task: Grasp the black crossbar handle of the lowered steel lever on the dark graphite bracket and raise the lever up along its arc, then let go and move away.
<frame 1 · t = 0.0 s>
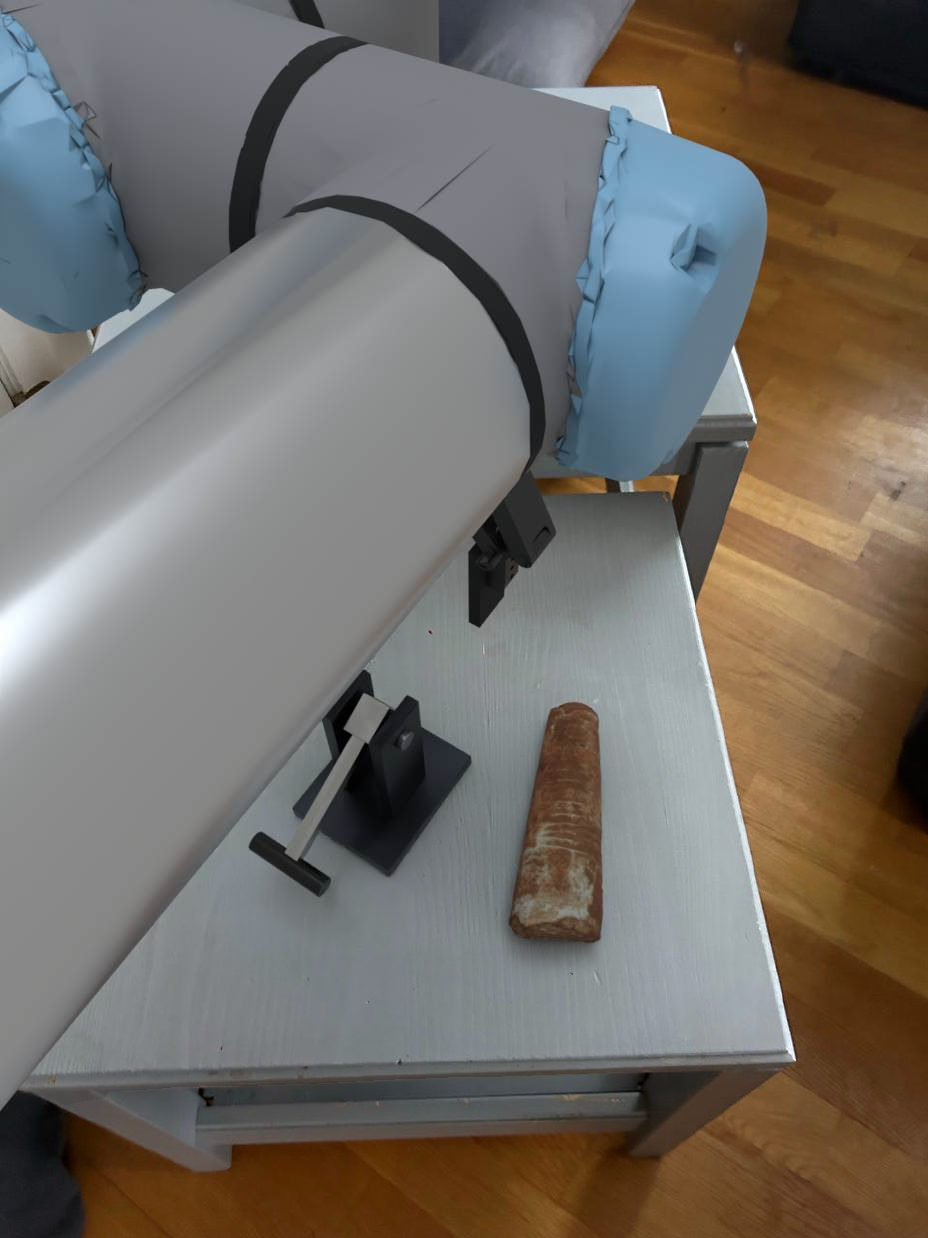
hand: (391, 559, 57), 23 cm above the table, tool pointing down, fingers open, 13 cm apart
bracket: (384, 788, 73), on the table
bread: (554, 827, 72), on the table
lever: (333, 787, 64), point 9 cm above the table, hinge at -25.0°
lemon: (289, 625, 82), on the table
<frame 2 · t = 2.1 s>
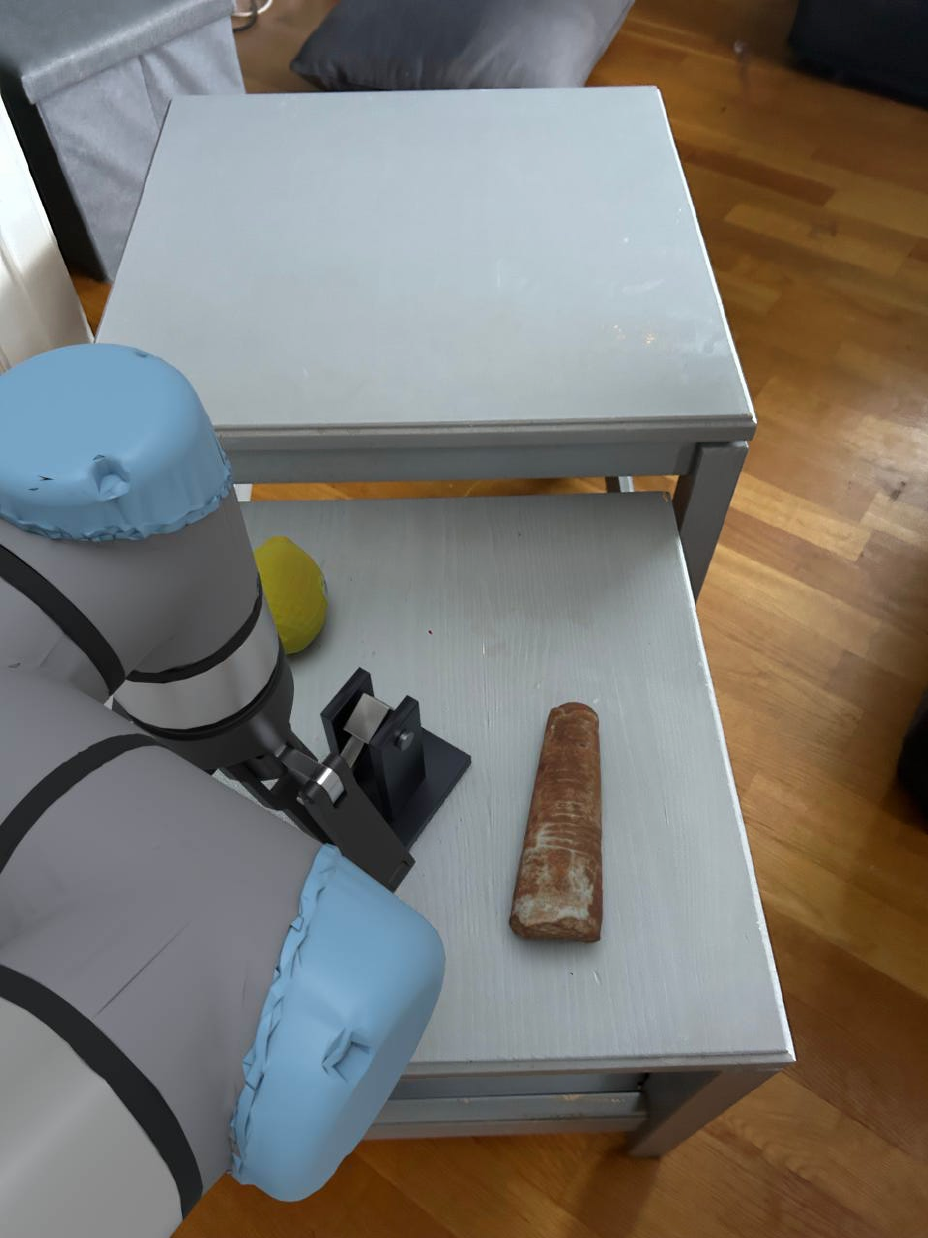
hand: (280, 836, 60), 11 cm above the table, tool pointing down, fingers open, 13 cm apart
nothing on the table moved.
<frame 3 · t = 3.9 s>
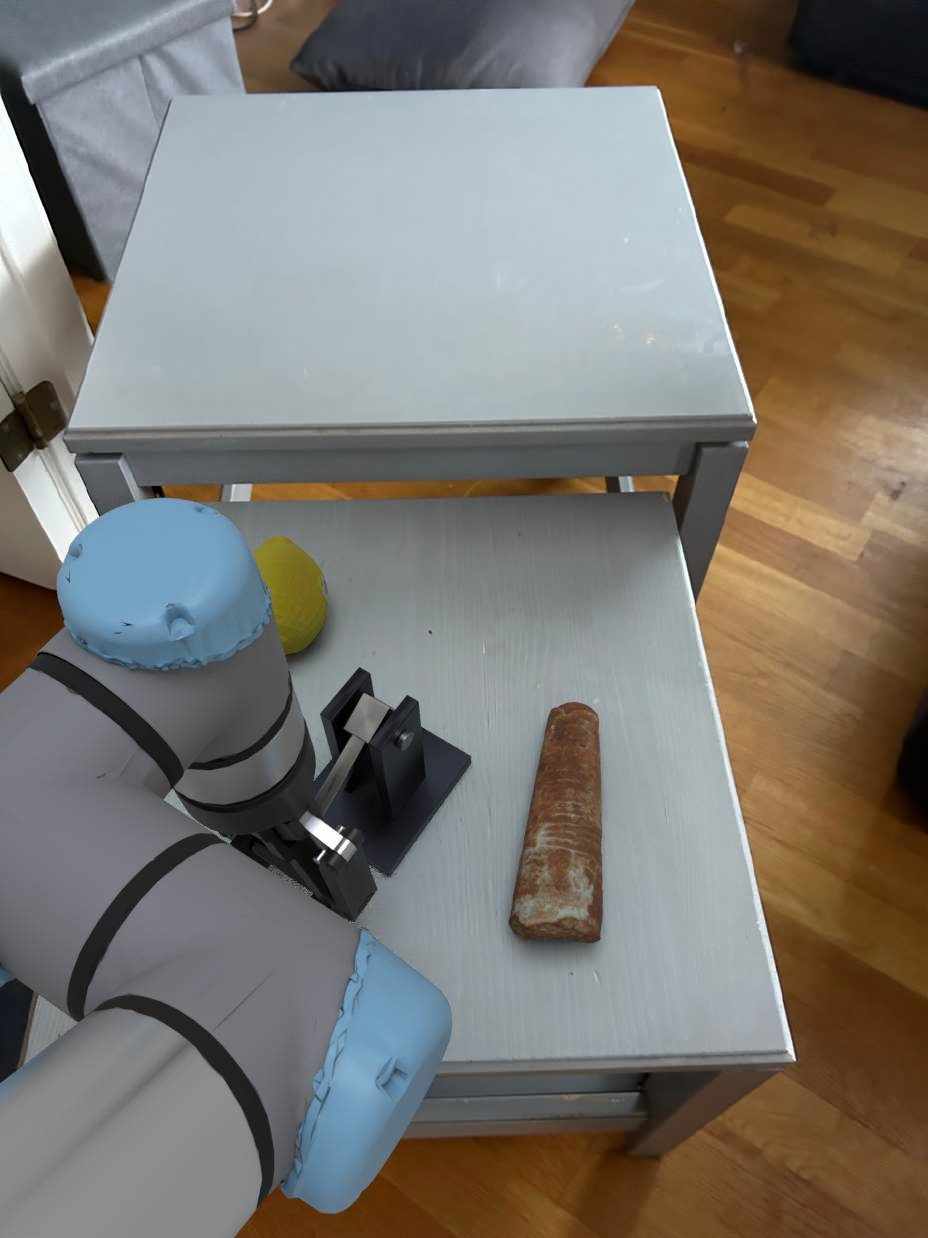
hand: (301, 889, 68), 1 cm above the table, tool pointing down, fingers closed on lever, 6 cm apart
lever: (333, 787, 64), point 9 cm above the table, hinge at -25.0°, touching gripper
everything else where it was.
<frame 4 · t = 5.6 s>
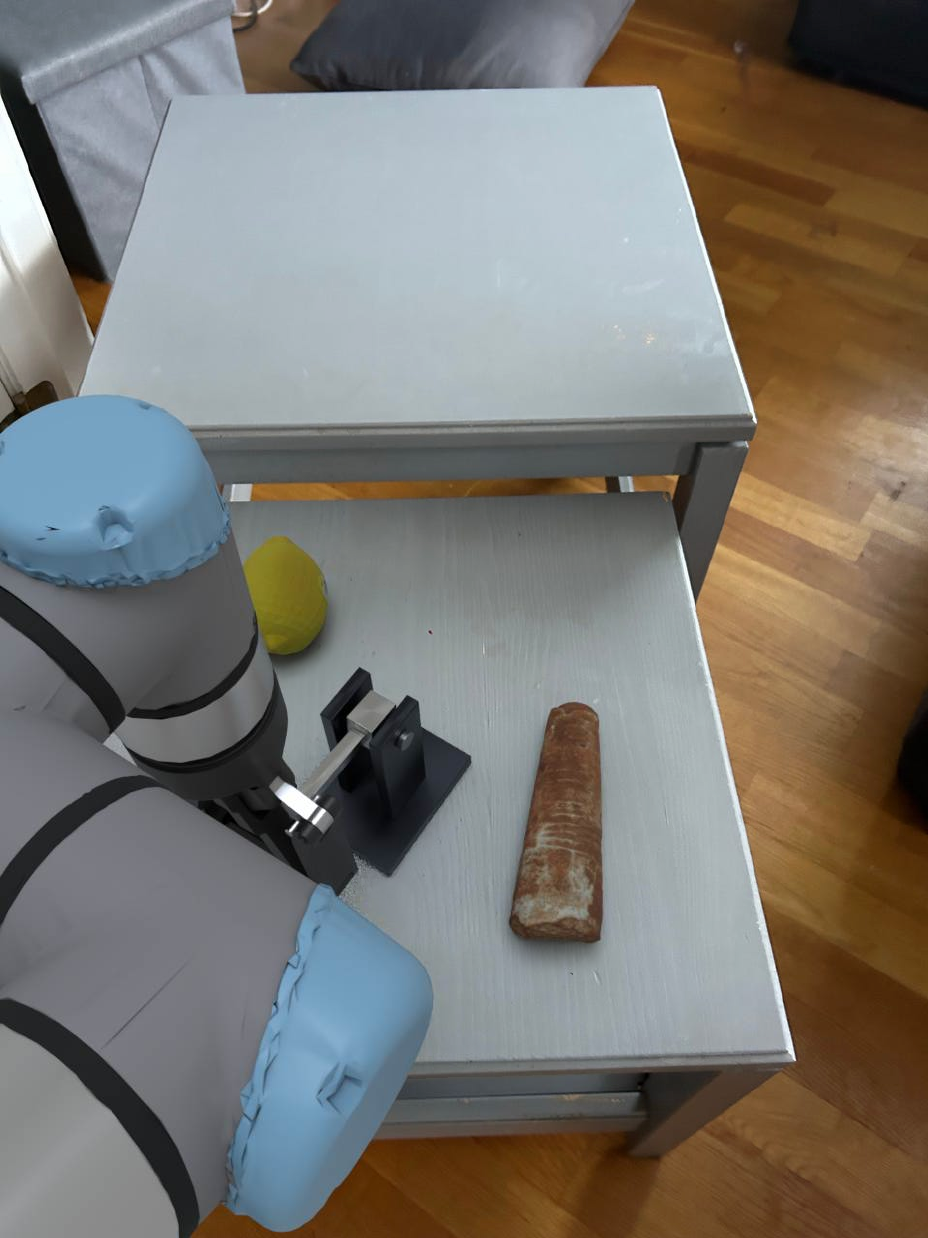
hand: (277, 872, 62), 7 cm above the table, tool pointing down, fingers closed on lever, 6 cm apart
lever: (324, 775, 61), point 11 cm above the table, hinge at 5.5°, touching gripper
everything else where it was.
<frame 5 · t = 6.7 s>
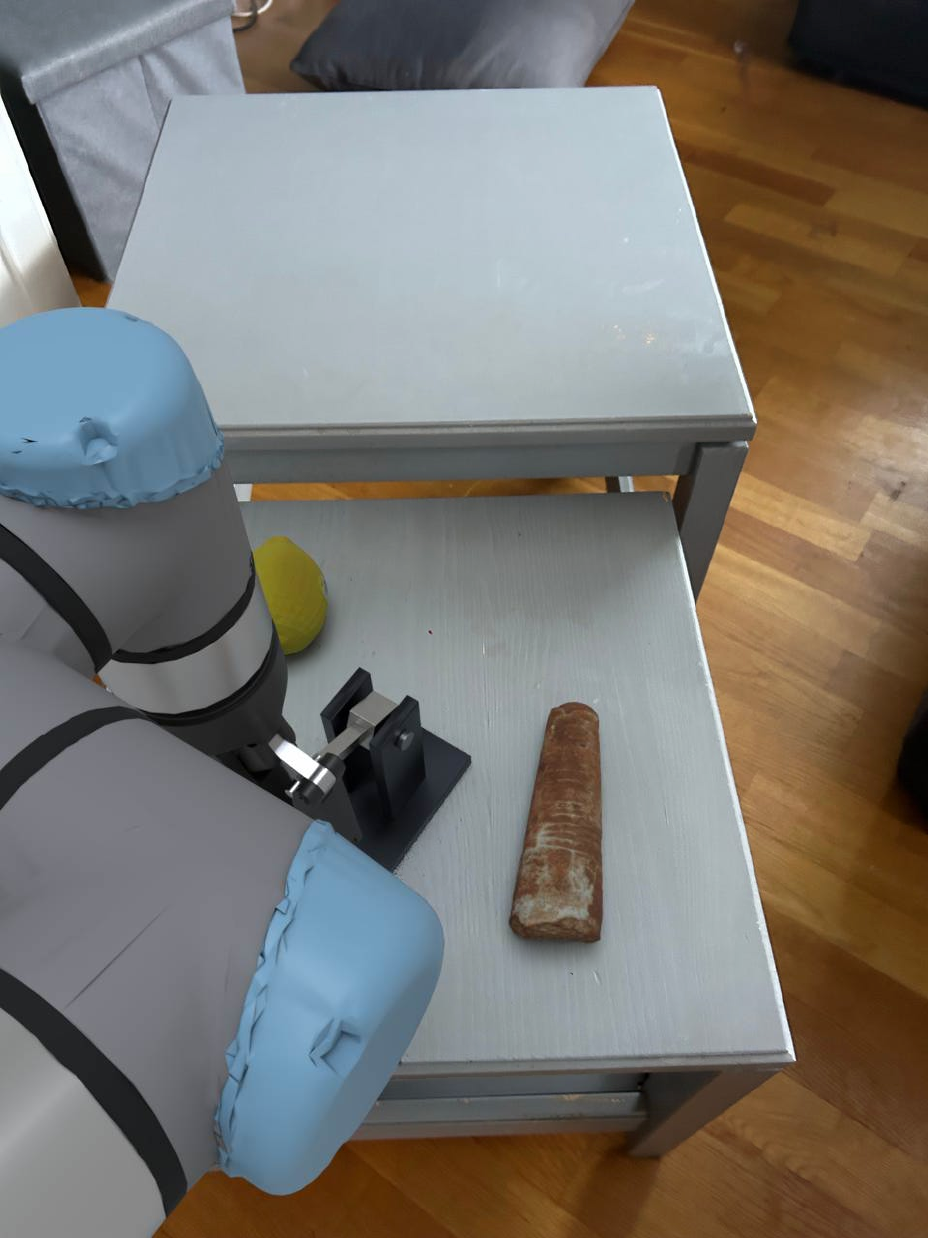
hand: (278, 843, 60), 10 cm above the table, tool pointing down, fingers closed on lever, 6 cm apart
lever: (324, 761, 60), point 13 cm above the table, hinge at 21.7°, touching gripper
everything else where it was.
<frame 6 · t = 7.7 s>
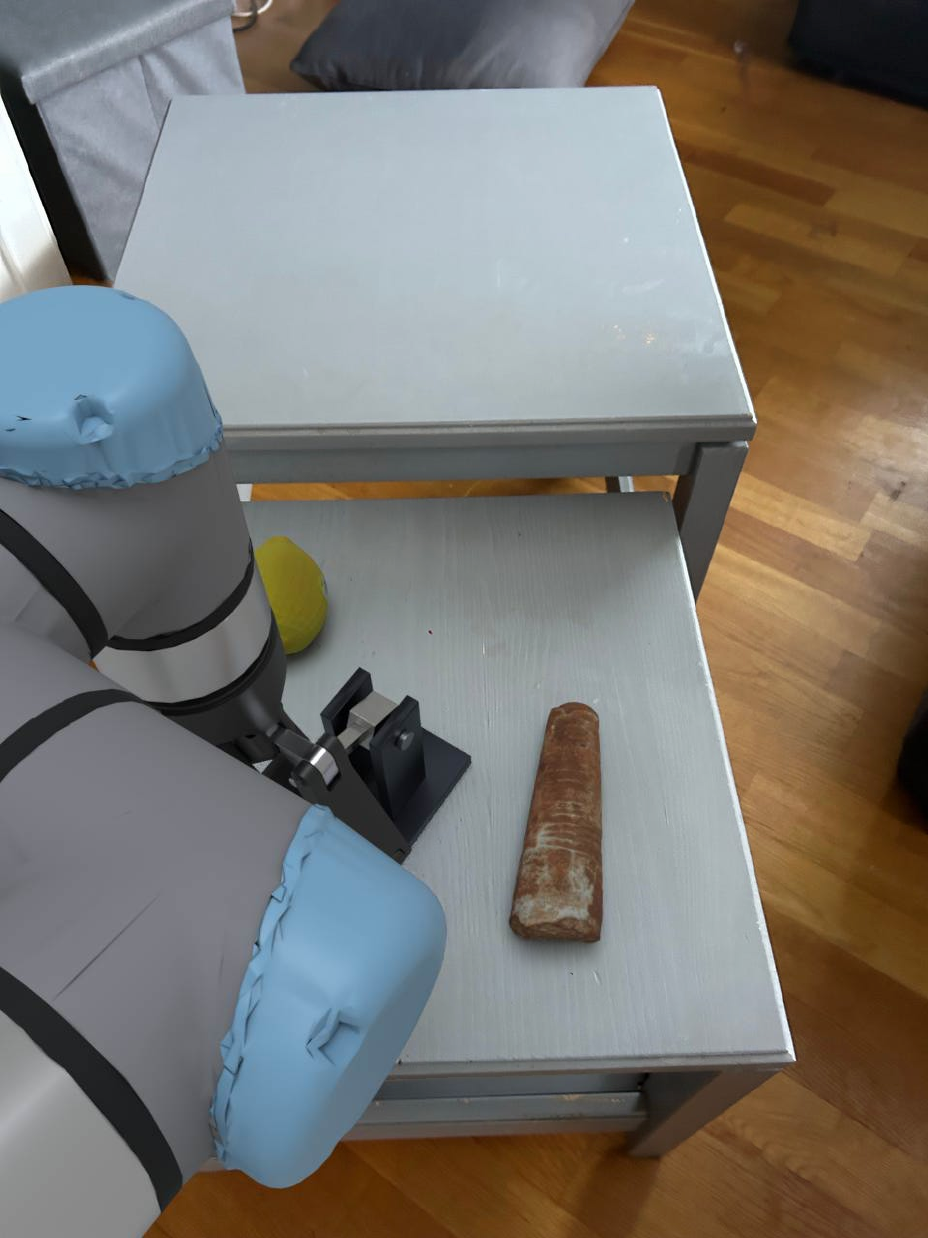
hand: (271, 826, 58), 13 cm above the table, tool pointing down, fingers open, 13 cm apart
lever: (324, 761, 60), point 13 cm above the table, hinge at 21.6°
everything else where it was.
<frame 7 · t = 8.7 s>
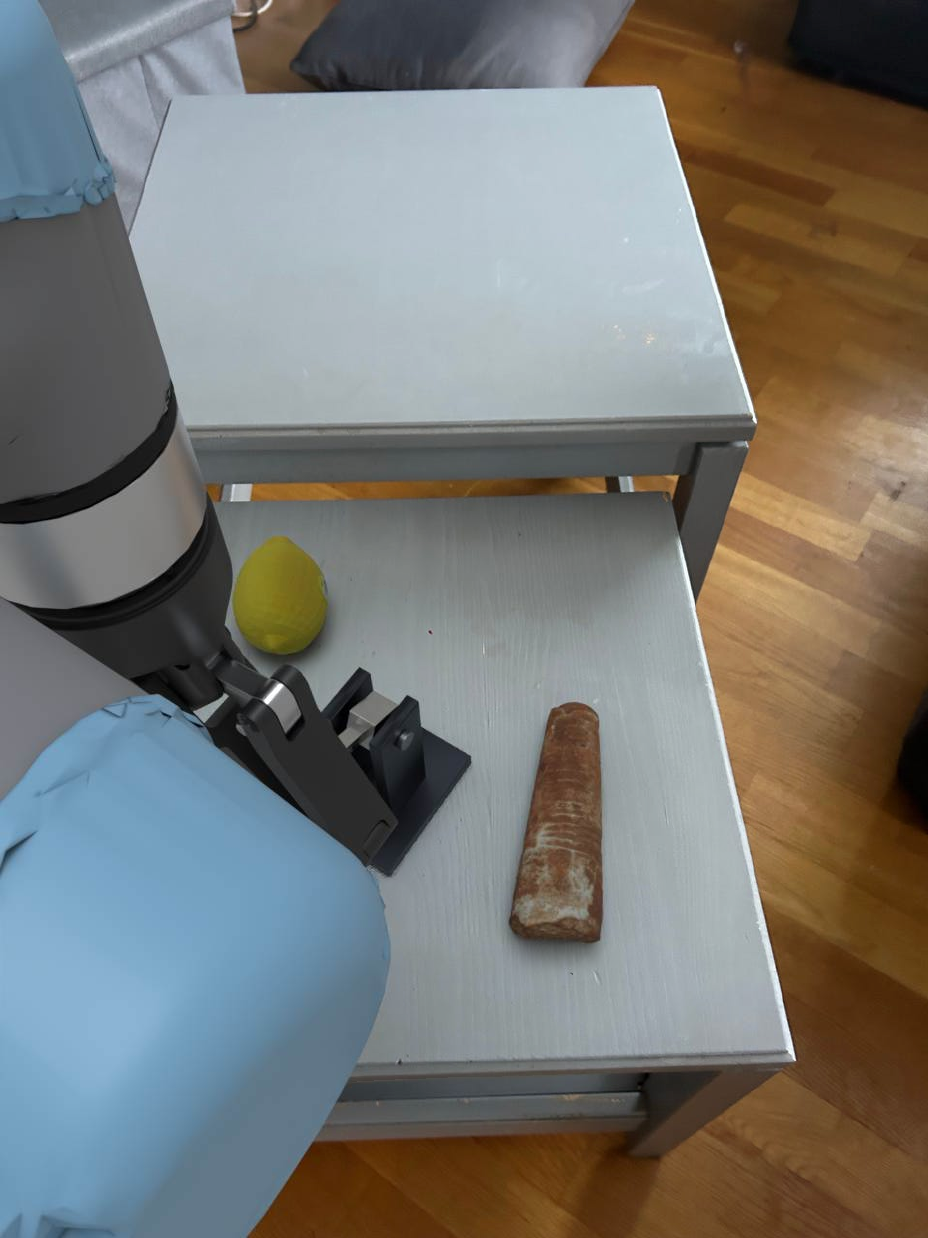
hand: (228, 801, 48), 23 cm above the table, tool pointing down, fingers open, 13 cm apart
nothing on the table moved.
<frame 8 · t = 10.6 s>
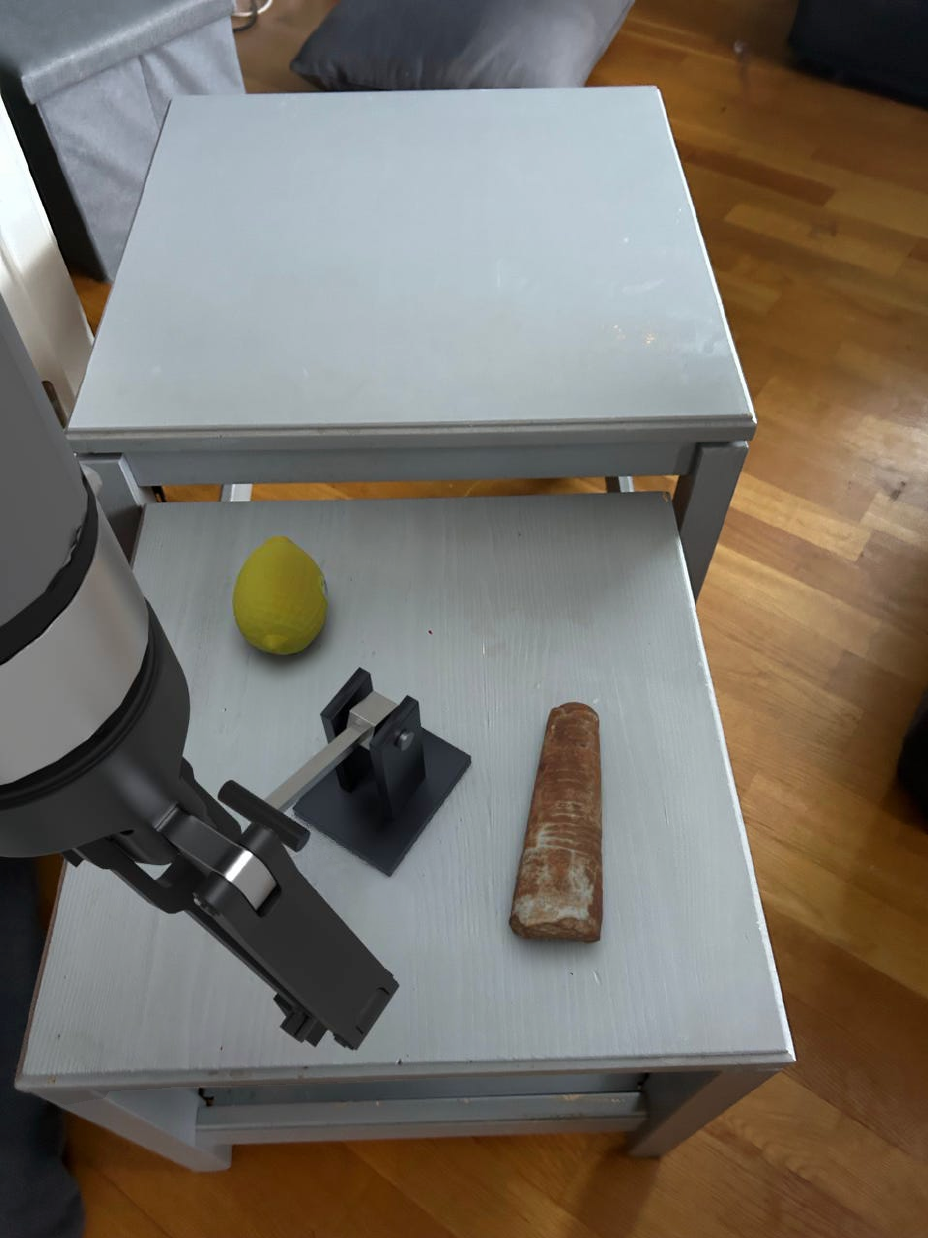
hand: (204, 921, 41), 27 cm above the table, tool pointing down, fingers open, 13 cm apart
nothing on the table moved.
at the end: lever at +22° (first picture: -25°) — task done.
